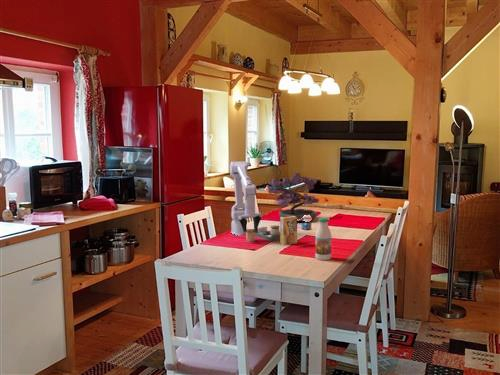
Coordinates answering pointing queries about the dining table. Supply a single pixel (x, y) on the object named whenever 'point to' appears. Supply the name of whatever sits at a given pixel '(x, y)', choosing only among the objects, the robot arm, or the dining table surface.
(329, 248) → the milk bottle
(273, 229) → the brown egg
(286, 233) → the candy box
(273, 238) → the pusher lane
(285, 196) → the bonsai tree
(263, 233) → the plate
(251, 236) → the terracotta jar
